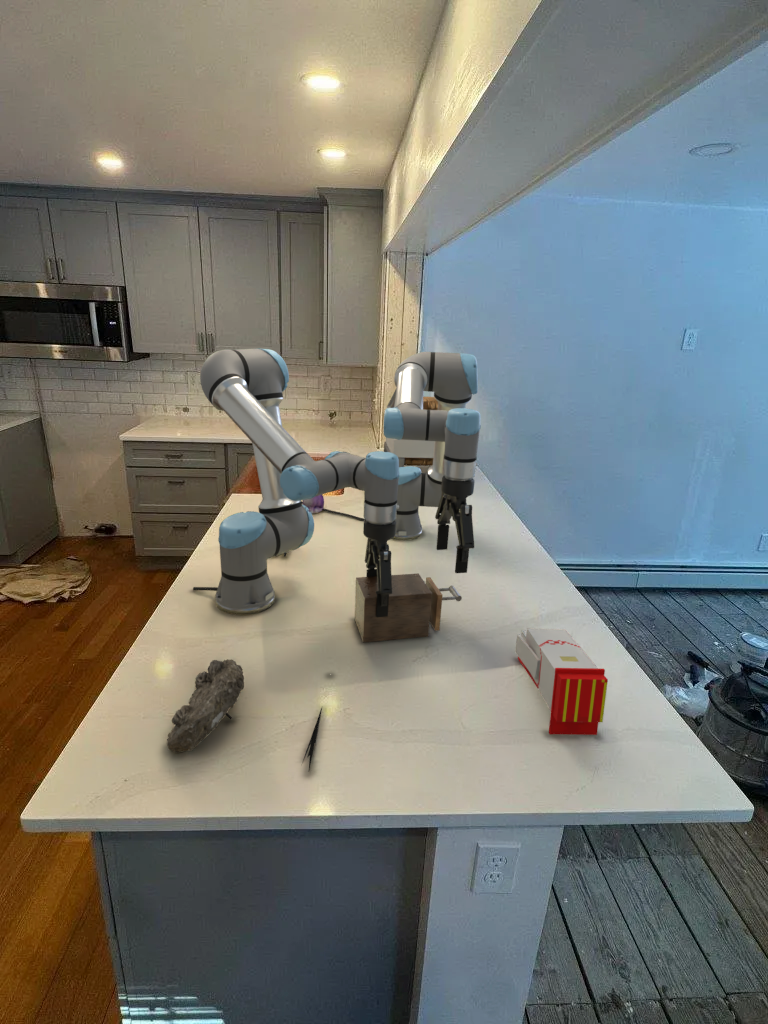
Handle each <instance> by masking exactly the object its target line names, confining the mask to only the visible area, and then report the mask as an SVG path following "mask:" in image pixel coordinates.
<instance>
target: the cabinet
mask: <svg viewBox="0 0 768 1024" xmlns="http://www.w3.org/2000/svg"><path fill="white" fill-rule="evenodd" d="M391 579H392V594H389V603H388V617H376V601H377V594H376V593H375V591H378V581H377V576H373V577H366V576H360V577H359V576H357V577H355V591H354V593H355V595H354V621H355V624H356V627H357V629H358V632H359V635H360V638H361V640H362V643H371V642H372V643H373V642H383V641H393V640H404V639H413V638H414V639H415V638H424V637H425V638H427V637H429V634H430V633H429V632H430V609H431V596H432V593H431V591H430V590H429V588H428V587H427V585H426V581H424V579H423V577H422V576H421V574H420V573H417V572H416V573H405V574H404V573H403V574H391Z"/></svg>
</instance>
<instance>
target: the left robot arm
mask: <svg viewBox="0 0 768 1024" xmlns="http://www.w3.org/2000/svg"><path fill="white" fill-rule="evenodd" d="M199 378H200V379H199V381H200V386H201V390H202V392H203V394H204V396H205V397H206V399H207V400H208V402H209V403H210V404H211V405H212V406H213V407H214V409H216V410H217V411H222V412H224V413H225V414H226V415H227V416H228V418H230V419H231V421H232V422H233V423H234V424H235V425H236V426H237V428H238V429H239V430H240V431H241V432H242V433H243V434H244V435H245V436H246V437H247V438H248V440H249V441H250V442H251V446H252V450H253V455H254V460H255V467H256V472H257V476H258V481H259V487H260V493H261V498H262V499H261V502H260V503H259V505H258V508H257V509H258V511H254V510H253V511H252V510H251V511H249V510H248V511H245V512H244V511H240V512H236V513H233V514H231V515H228V516H227V517H225V518H224V519H223V520H222V521H221V522H220V524H219V528H218V540H217V541H218V544H219V558H220V559H219V560H220V574H221V575H220V579H219V580H220V581H219V583H218V585H217V587H216V586H213V587H212V586H211V587H210V586H193V588H192V590H193V591H211V592H213V591H214V592H216V593H215V606H216V607H217V609H219V610H220V611H221V612H224V613H226V614H231V615H237V616H246V615H252V614H258V613H261V612H263V611H266V610H267V609H269V608H270V607H271V606H272V605H273V604H275V601H276V592H275V591H276V590H275V589H274V587H273V584H272V581H271V579H270V576H269V574H268V560H269V559H271V558H274V557H275V558H276V557H278V556H279V555H284V553H285V552H287V553H289V552H290V551H295V550H297V549H299V548H301V547H303V546H305V545H307V544H309V542H310V540H311V539H312V537H313V535H314V533H315V519H314V516H313V513H311V512H309V509H308V508H307V507H306V506H305V505H303V504H302V503H301V501H303V500H305V499H311V498H313V497H316V496H319V495H325V494H329V493H333V492H336V491H340V490H342V489H346V488H352V489H356V490H359V491H363V493H364V498H363V499H364V500H363V518H364V519H365V520H364V521H363V530H362V532H363V533H362V534H363V536H364V537H365V538H367V541H366V547H365V556H364V563H365V564H366V565H365V567H366V575H365V577H373V576H377V581H378V591H375V593H376V594H377V601H376V617H388V603H389V594H392V579H391V575H392V553H393V552H392V550H390V544H388V541H389V540H393V539H392V538H393V537H394V536H395V534H396V521H395V519H396V513H397V512H396V509H399V505H397V491H398V481H399V459H398V457H397V455H395V454H393V453H390V452H384V450H383V451H382V450H376V451H371V452H368V453H367V454H366V455H365V457H364V456H360V455H357V454H353V453H350V452H347V451H339V450H334V451H331V452H329V454H328V455H326V456H325V458H324V459H319V460H314V459H313V457H312V456H311V455H310V454H309V453H308V452H307V451H306V450H305V449H304V448H303V447H302V446H301V445H300V444H299V443H298V442H297V441H296V439H294V437H293V436H292V435H291V434H290V433H289V432H288V431H287V430H286V429H285V428H284V427H283V421H282V416H281V410H280V405H281V403H282V402H283V401H284V393H283V392H284V391H285V390H286V389H287V387H288V386H289V384H288V383H289V382H290V373H289V369H288V366H287V363H286V362H285V360H284V359H283V357H282V356H281V355H280V354H279V353H278V352H277V351H275V350H273V349H271V348H261V347H257V348H256V347H255V348H239V349H238V348H237V349H220V350H217V351H215V352H213V353H211V354H210V355H209V356H208V357H206V359H205V360H204V362H203V364H202V367H201V369H200V373H199ZM288 551H289V552H288Z"/></svg>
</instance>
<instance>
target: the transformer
mask: <svg viewBox="0 0 768 1024" xmlns="http://www.w3.org/2000/svg"><path fill="white" fill-rule="evenodd" d="M396 389H397V388H395V390H394V392H393V394H392V395H391V398H390V400H389V402H388V404H387V405H386V409H387V408H394V404H395V396H396ZM423 409H425V410H438V401H437V400H436V399H435V398H434V396H423ZM434 445H435V441H423V440H397V439H391V438H386V437H385V438H384V442H383V452H390V453H393V454H395V455H397V457H398V459H399V467H405V466H406V467H407V466H412V467H417V466H418V467H430V466H431V465H433V457H434Z"/></svg>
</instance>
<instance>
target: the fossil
mask: <svg viewBox="0 0 768 1024" xmlns="http://www.w3.org/2000/svg"><path fill="white" fill-rule="evenodd" d="M243 670H244V669H243V667H242V665H240V664H237V662H236V661H235V660H234V659H232V658H231V659H227V658H226V659H224V660H223V661H222V660H217V659H212V660H211V661H210V663H209V665H208V666H207V671H201V672H199V673H198V674H197V675H196V676H195V680H194V684H195V685H194V687H195V689H194V690H193V693H192V694H191V697H190V698H189V700H188V704H184V705H182V706H181V707H180V709H177V710H176V711H175V713H174V715H173V716H172V718H171V723H172V724H173V727H172V730H171V731H170V732H168V734H167V738H166V741H167V742H166V745H167V749H168V750H169V751H173V752H174V753H176V754H178V753H182V752H188V751H189V752H192V751H193V750H195V748H196V747H197V746H199V744H200V743H201V742H203V741H204V740H205V739H206V738H207V737H208V736H209V735H210V734H211V733H212V732H214V730H215V729H217V727H218V726H219V724H220V722H221V721H222V720H223V719H224V718H225V716H226V717H227V719H229V720H233V717H232V715H230V714H229V710H230V709H231V708H234V706H235V704H236V703H237V702H238V699H239V697H240V695H241V693H242V691H243V690H245V689H244V688H245V675H244V671H243Z"/></svg>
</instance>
